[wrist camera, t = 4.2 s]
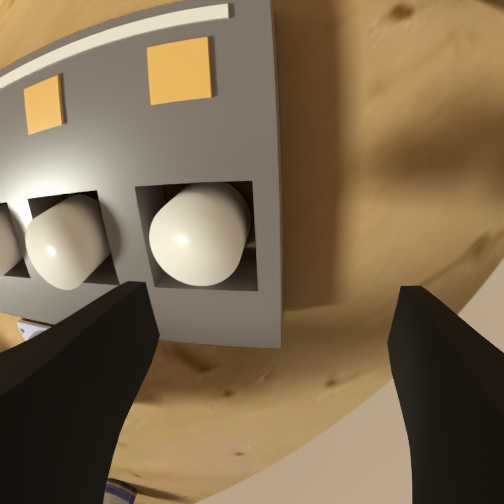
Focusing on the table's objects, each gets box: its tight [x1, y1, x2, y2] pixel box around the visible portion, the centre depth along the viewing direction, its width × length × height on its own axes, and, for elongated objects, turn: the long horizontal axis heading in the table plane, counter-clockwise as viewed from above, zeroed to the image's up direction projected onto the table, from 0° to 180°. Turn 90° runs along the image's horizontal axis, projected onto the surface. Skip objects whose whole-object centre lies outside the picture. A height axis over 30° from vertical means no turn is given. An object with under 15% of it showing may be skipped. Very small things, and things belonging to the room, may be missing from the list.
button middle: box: [25, 194, 111, 290], centre depth 14 cm, size 4×4×3 cm
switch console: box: [0, 0, 283, 348], centre depth 15 cm, size 16×21×3 cm
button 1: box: [149, 182, 251, 286], centre depth 14 cm, size 4×4×3 cm
